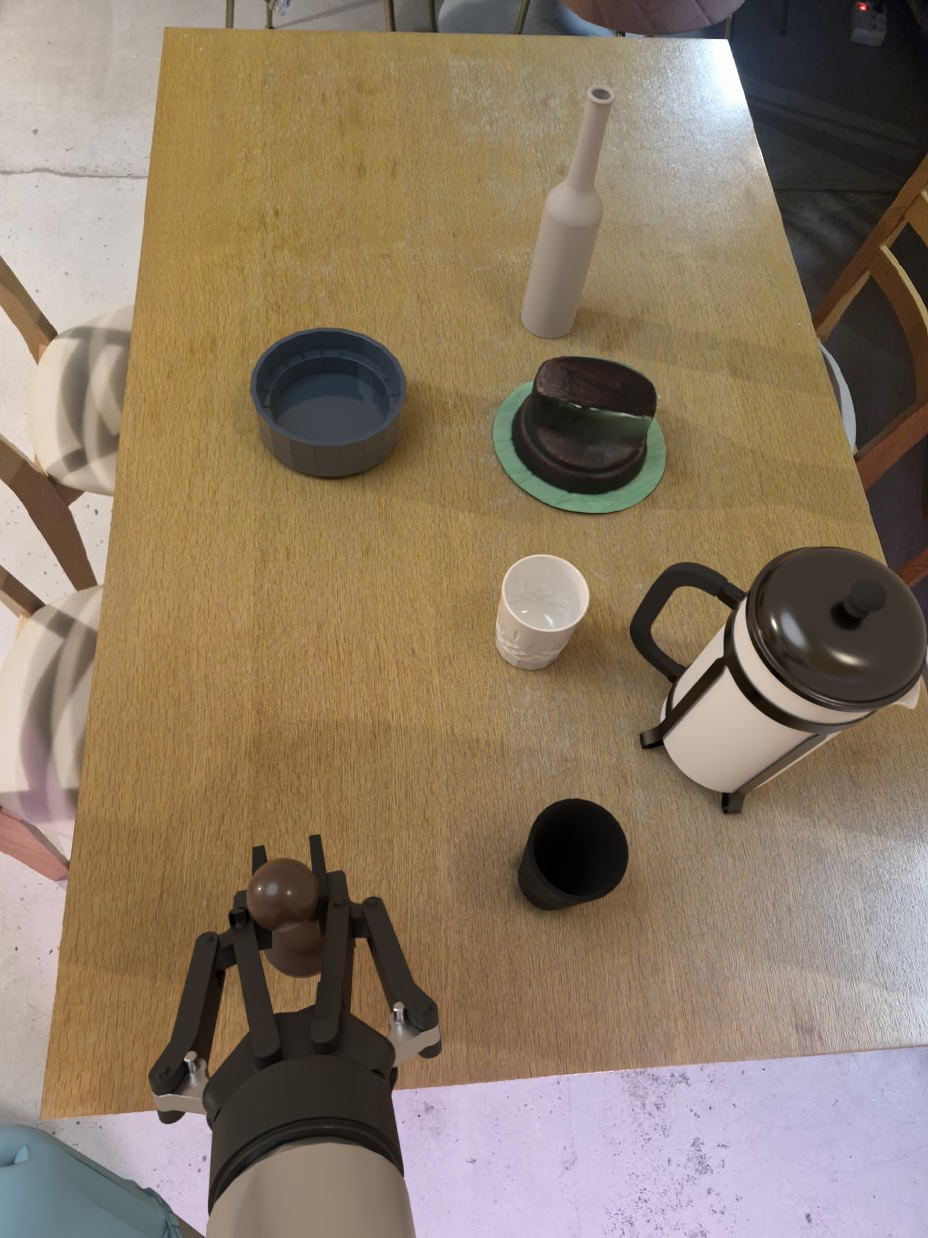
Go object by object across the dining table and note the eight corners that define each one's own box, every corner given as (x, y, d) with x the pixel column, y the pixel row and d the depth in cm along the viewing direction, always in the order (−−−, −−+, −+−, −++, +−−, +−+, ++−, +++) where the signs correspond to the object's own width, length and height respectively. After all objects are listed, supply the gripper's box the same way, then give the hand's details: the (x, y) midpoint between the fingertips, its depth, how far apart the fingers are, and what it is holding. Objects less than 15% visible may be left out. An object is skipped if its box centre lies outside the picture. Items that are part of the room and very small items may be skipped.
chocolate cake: (658, 369, 102) (692, 511, 93) (513, 418, 108) (532, 555, 99) (630, 282, 89) (665, 437, 81) (467, 343, 95) (484, 493, 87)
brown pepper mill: (260, 980, 56) (215, 951, 40) (265, 892, 59) (225, 832, 43) (345, 976, 57) (335, 947, 41) (346, 890, 59) (338, 830, 43)
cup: (532, 817, 77) (558, 779, 66) (606, 863, 75) (645, 831, 65) (489, 892, 73) (509, 865, 63) (567, 941, 72) (601, 922, 61)
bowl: (252, 479, 90) (245, 443, 85) (261, 364, 97) (255, 324, 92) (405, 482, 92) (407, 447, 87) (403, 368, 99) (405, 330, 94)
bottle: (578, 337, 104) (643, 113, 79) (526, 340, 103) (575, 114, 78) (567, 298, 107) (626, 71, 82) (516, 300, 106) (560, 70, 81)
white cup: (531, 591, 87) (548, 539, 78) (583, 647, 85) (607, 599, 76) (472, 633, 84) (484, 583, 76) (524, 691, 82) (543, 648, 73)
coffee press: (772, 661, 86) (950, 485, 60) (801, 818, 79) (1019, 698, 52) (605, 654, 85) (711, 472, 58) (619, 814, 77) (747, 689, 51)
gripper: (112, 1335, 32) (172, 933, 54) (515, 1218, 35) (417, 882, 57) (65, 1192, 30) (148, 832, 51) (503, 1079, 33) (406, 783, 54)
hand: (289, 859), depth 54 cm, fingers closed on brown pepper mill, 3 cm apart
